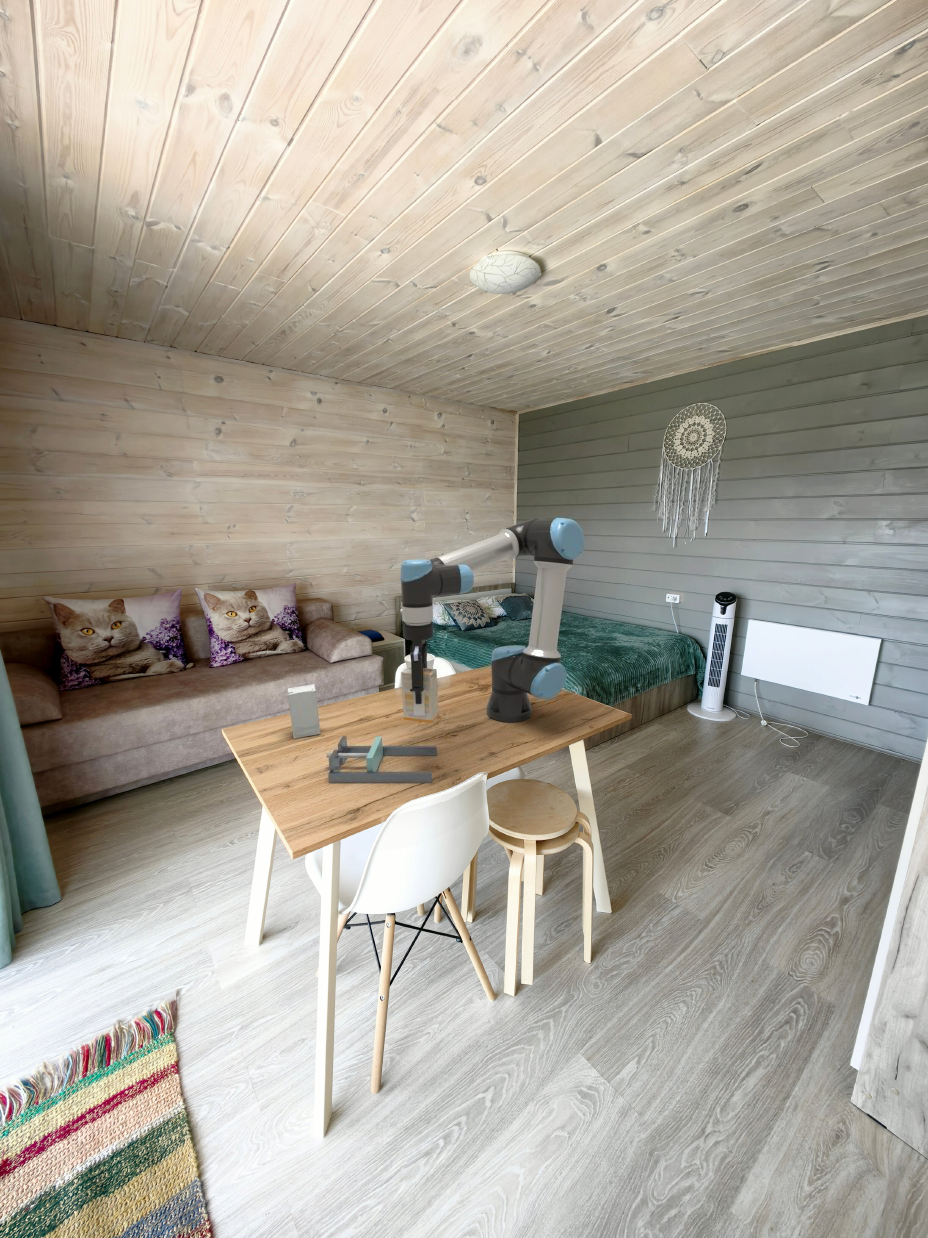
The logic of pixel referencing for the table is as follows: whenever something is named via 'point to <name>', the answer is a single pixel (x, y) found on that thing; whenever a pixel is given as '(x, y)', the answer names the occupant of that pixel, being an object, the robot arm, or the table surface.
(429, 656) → the cup
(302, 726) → the skincare box
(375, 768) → the pusher
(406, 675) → the supplement box
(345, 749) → the lane
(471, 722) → the table surface
